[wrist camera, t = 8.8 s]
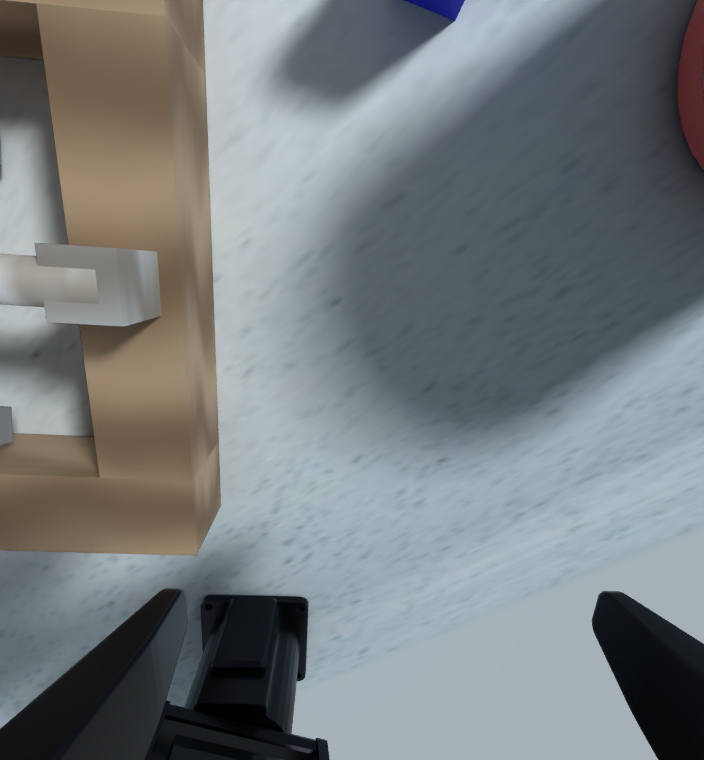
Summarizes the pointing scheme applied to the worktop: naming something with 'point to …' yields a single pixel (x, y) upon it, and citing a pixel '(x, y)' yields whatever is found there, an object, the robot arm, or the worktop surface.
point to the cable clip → (441, 6)
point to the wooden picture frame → (121, 282)
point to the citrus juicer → (693, 83)
